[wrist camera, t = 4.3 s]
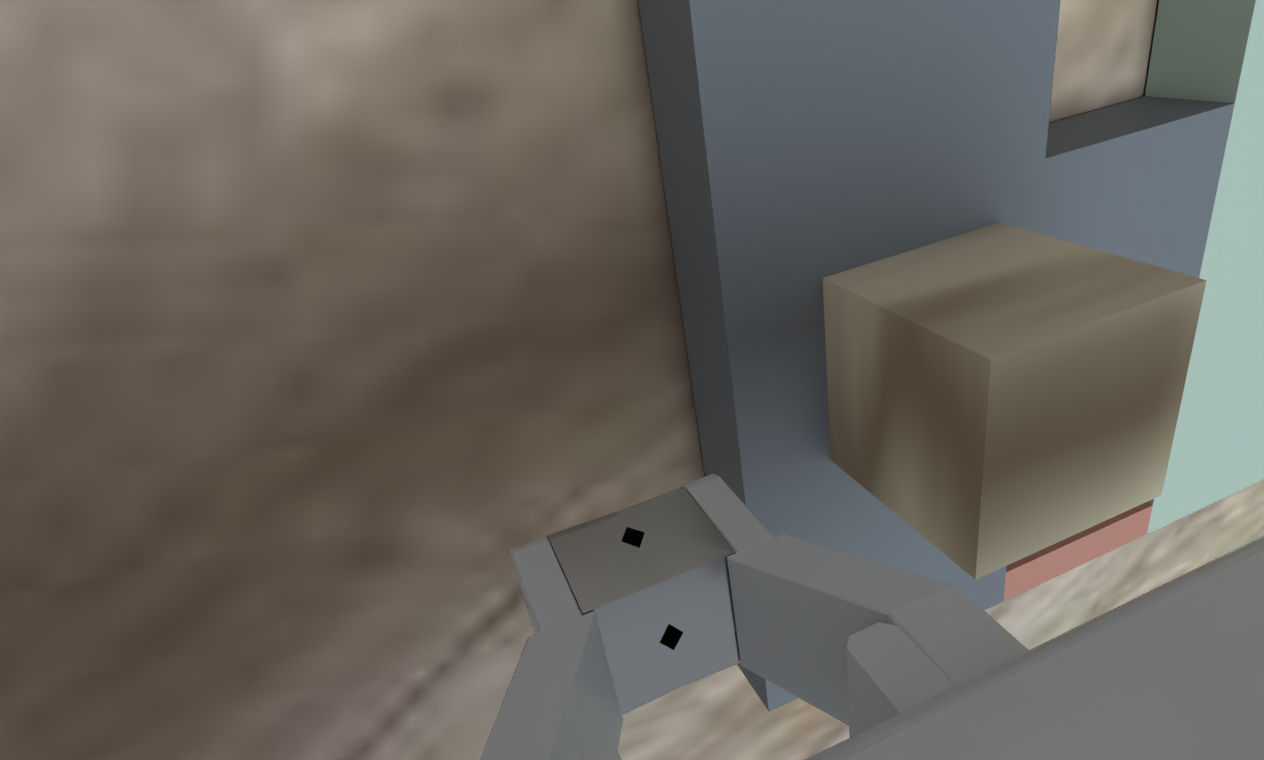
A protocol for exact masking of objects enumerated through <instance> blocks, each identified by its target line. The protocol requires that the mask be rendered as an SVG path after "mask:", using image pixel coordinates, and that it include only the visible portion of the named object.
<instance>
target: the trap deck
mask: <svg viewBox="0 0 1264 760" xmlns="http://www.w3.org/2000/svg"><path fill="white" fill-rule="evenodd" d="M638 5H639V12H640V19H641V26H642V33H643V40H644V48H645V55H646V62H647V69H648V76H649V83H650V90H651V97H652V104H653V112H654V119H655V126H656V133H657V140H658V147H659V154H660V161H661V168H662V176H663V183H664V190H665V197H666V204H667V211H668V218H669V225H670V232H671V240H672V247H673V254H674V261H675V268H676V275H677V282H678V289H679V296H680V304H681V311H682V318H683V325H684V332H685V339H686V346H687V353H688V360H689V368H690V375H691V382H692V389H693V396H694V403H695V410H696V417H697V424H698V432H699V439H700V446H701V453H702V460H703V467H704V474H705V476H708V475H710V474H715V475H718V476H720V478H721V479H722V480H723V481H724V482H725V483H726V484H727V485H728V487H729V488H730V489H731V490H732V491H733V492H734V493H735V494H736V495H737V497H738V498H739V499H740V500H741V501H742V502H743V503H744V504H745V505H746V507H747V508H748V509H749V510H750V511H751V512H752V513H753V514H754V516H755V517H756V518H757V519H758V520H759V521H760V522H761V523H762V524H763V526H764V527H765V528H766V529H767V530H768V531H769V532H770V533H771V534H772V536H773V537H774V538H776V537H778V536H781V535H783V534H785V535H788V536H792V537H795V538H798V539H802V540H805V541H808V542H812V543H815V544H818V545H822V546H825V547H828V548H832V549H835V550H839V551H842V552H845V553H849V554H852V555H855V556H859V557H862V558H865V559H869V560H872V561H875V562H879V563H882V564H885V565H889V566H892V567H895V568H899V569H902V570H905V571H909V572H912V573H916V574H919V575H922V576H926V577H929V578H932V579H936V580H939V581H942V582H946V583H949V584H952V585H956V586H957V587H958V588H959V589H960V590H961V591H963V592H964V593H965V594H966V595H967V596H968V597H969V598H970V599H972V600H973V601H974V602H975V603H976V604H977V605H978V606H979V607H981V608H982V609H983V610H986V609H988V608H990V607H992V606H995V605H997V604H999V603H1001V602H1003V601H1005V600H1007V599H1009V598H1012V597H1014V596H1016V595H1018V594H1020V593H1022V592H1024V591H1026V590H1029V589H1031V588H1033V587H1035V586H1037V585H1039V584H1041V583H1043V582H1046V581H1048V580H1050V579H1052V578H1054V577H1056V576H1058V575H1060V574H1063V573H1065V572H1067V571H1069V570H1071V569H1073V568H1075V567H1078V566H1080V565H1082V564H1084V563H1086V562H1088V561H1090V560H1092V559H1095V558H1097V557H1099V556H1101V555H1103V554H1105V553H1107V552H1109V551H1112V550H1114V549H1116V548H1118V547H1120V546H1122V545H1124V544H1126V543H1129V542H1131V541H1133V540H1135V539H1137V538H1139V537H1141V536H1144V535H1146V534H1148V533H1150V532H1152V531H1154V530H1156V529H1158V528H1161V527H1163V526H1165V525H1167V524H1169V523H1171V522H1173V521H1175V520H1178V519H1180V518H1182V517H1184V516H1186V515H1188V514H1190V513H1192V512H1195V511H1197V510H1199V509H1201V508H1203V507H1205V506H1207V505H1210V504H1212V503H1214V502H1216V501H1218V500H1220V499H1222V498H1224V497H1227V496H1229V495H1231V494H1233V493H1235V492H1237V491H1239V490H1241V489H1244V488H1246V487H1248V486H1250V485H1252V484H1254V483H1256V482H1258V481H1261V480H1263V479H1264V0H1159V5H1158V12H1157V19H1156V25H1155V32H1154V39H1153V45H1152V52H1151V59H1150V65H1149V72H1148V78H1147V85H1146V92H1145V96H1144V97H1140V98H1136V99H1133V100H1129V101H1126V102H1122V103H1118V104H1115V105H1111V106H1108V107H1104V108H1100V109H1097V110H1093V111H1090V112H1086V113H1082V114H1079V115H1075V116H1072V117H1068V118H1064V119H1061V120H1057V121H1054V122H1050V123H1049V115H1050V104H1051V94H1052V83H1053V73H1054V62H1055V52H1056V41H1057V31H1058V20H1059V10H1060V0H638ZM997 223H1003V224H1007V225H1010V226H1014V227H1018V228H1021V229H1025V230H1028V231H1032V232H1036V233H1039V234H1043V235H1046V236H1050V237H1053V238H1057V239H1061V240H1064V241H1068V242H1071V243H1075V244H1079V245H1082V246H1086V247H1089V248H1093V249H1097V250H1100V251H1104V252H1107V253H1111V254H1114V255H1118V256H1122V257H1125V258H1129V259H1132V260H1136V261H1140V262H1143V263H1147V264H1150V265H1154V266H1157V267H1161V268H1165V269H1168V270H1172V271H1175V272H1179V273H1183V274H1186V275H1190V276H1193V277H1197V278H1200V279H1204V280H1207V281H1206V286H1205V290H1204V295H1203V300H1202V305H1201V310H1200V314H1199V319H1198V324H1197V329H1196V333H1195V338H1194V343H1193V348H1192V353H1191V357H1190V362H1189V367H1188V372H1187V376H1186V381H1185V386H1184V391H1183V396H1182V400H1181V405H1180V410H1179V415H1178V420H1177V424H1176V429H1175V434H1174V439H1173V443H1172V448H1171V453H1170V458H1169V463H1168V467H1167V472H1166V477H1165V482H1164V486H1163V491H1162V495H1161V496H1159V497H1156V498H1154V499H1152V500H1150V501H1148V502H1145V503H1143V504H1141V505H1139V506H1137V507H1134V508H1132V509H1130V510H1128V511H1126V512H1123V513H1121V514H1119V515H1117V516H1115V517H1112V518H1110V519H1108V520H1106V521H1104V522H1101V523H1099V524H1097V525H1095V526H1093V527H1090V528H1088V529H1086V530H1084V531H1082V532H1080V533H1077V534H1075V535H1073V536H1071V537H1069V538H1066V539H1064V540H1062V541H1060V542H1058V543H1055V544H1053V545H1051V546H1049V547H1047V548H1044V549H1042V550H1040V551H1038V552H1036V553H1033V554H1031V555H1029V556H1027V557H1025V558H1022V559H1020V560H1018V561H1016V562H1014V563H1011V564H1009V565H1007V566H1005V567H1003V568H1001V569H998V570H996V571H994V572H992V573H990V574H987V575H985V576H983V577H981V578H979V579H976V580H975V579H974V578H973V577H971V576H970V575H969V574H968V573H967V572H965V571H964V570H963V569H962V568H960V567H959V566H958V565H957V564H956V563H954V562H953V561H952V560H951V559H950V558H948V557H947V556H946V555H945V554H944V553H942V552H941V551H940V550H939V549H937V548H936V547H935V546H934V545H933V544H931V543H930V542H929V541H928V540H927V539H925V538H924V537H923V536H922V535H921V534H919V533H918V532H917V531H916V530H915V529H913V528H912V527H911V526H910V525H908V524H907V523H906V522H905V521H904V520H902V519H901V518H900V517H899V516H898V515H896V514H895V513H894V512H893V511H892V510H890V509H889V508H888V507H887V506H886V505H884V504H883V503H882V502H881V501H879V500H878V499H877V498H876V497H875V496H873V495H872V494H871V493H870V492H869V491H867V490H866V489H865V488H864V487H863V486H861V485H860V484H859V483H858V482H856V481H855V480H854V479H853V478H852V477H850V476H849V475H848V474H847V473H846V472H844V471H843V470H842V469H841V468H840V467H838V466H837V465H836V464H835V463H834V462H832V461H831V457H830V434H829V412H828V389H827V367H826V344H825V322H824V300H823V278H824V277H828V276H831V275H834V274H837V273H840V272H844V271H847V270H850V269H853V268H856V267H860V266H863V265H866V264H869V263H872V262H876V261H879V260H882V259H885V258H888V257H891V256H895V255H898V254H901V253H904V252H907V251H911V250H914V249H917V248H920V247H923V246H927V245H930V244H933V243H936V242H939V241H943V240H946V239H949V238H952V237H955V236H958V235H962V234H965V233H968V232H971V231H974V230H978V229H981V228H984V227H987V226H990V225H994V224H997ZM737 665H738V666H739V668H740V669H741V671H742V672H743V674H744V675H745V677H746V678H747V680H748V681H749V683H750V684H751V686H752V687H753V689H754V690H755V692H756V693H757V695H758V696H759V697H760V699H761V700H762V702H763V703H764V705H765V706H766V708H767V709H768V711H771V710H773V709H775V708H777V707H779V706H782V705H784V704H786V703H788V702H790V701H792V700H794V699H797V698H799V697H797V696H795V695H793V694H791V693H790V692H788V691H786V690H784V689H782V688H781V687H779V686H777V685H775V684H773V683H772V682H770V681H768V680H766V679H764V678H763V677H761V676H759V675H757V674H755V673H754V672H752V671H750V670H748V669H746V668H745V667H743V666H741V663H738V664H737Z"/></svg>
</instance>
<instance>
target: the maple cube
mask: <svg viewBox="0 0 1264 760" xmlns="http://www.w3.org/2000/svg"><path fill="white" fill-rule="evenodd" d="M1206 281H1207V280H1204V279H1200V278H1197V277H1193V276H1190V275H1186V274H1183V273H1179V272H1175V271H1172V270H1168V269H1165V268H1161V267H1157V266H1154V265H1150V264H1147V263H1143V262H1140V261H1136V260H1132V259H1129V258H1125V257H1122V256H1118V255H1114V254H1111V253H1107V252H1104V251H1100V250H1097V249H1093V248H1089V247H1086V246H1082V245H1079V244H1075V243H1071V242H1068V241H1064V240H1061V239H1057V238H1053V237H1050V236H1046V235H1043V234H1039V233H1036V232H1032V231H1028V230H1025V229H1021V228H1018V227H1014V226H1010V225H1007V224H1003V223H997V224H994V225H990V226H987V227H984V228H981V229H978V230H974V231H971V232H968V233H965V234H962V235H958V236H955V237H952V238H949V239H946V240H943V241H939V242H936V243H933V244H930V245H927V246H923V247H920V248H917V249H914V250H911V251H907V252H904V253H901V254H898V255H895V256H891V257H888V258H885V259H882V260H879V261H876V262H872V263H869V264H866V265H863V266H860V267H856V268H853V269H850V270H847V271H844V272H840V273H837V274H834V275H831V276H828V277H824V278H823V300H824V322H825V344H826V367H827V389H828V412H829V434H830V457H831V461H832V462H834V463H835V464H836V465H837V466H838V467H840V468H841V469H842V470H843V471H844V472H846V473H847V474H848V475H849V476H850V477H852V478H853V479H854V480H855V481H856V482H858V483H859V484H860V485H861V486H863V487H864V488H865V489H866V490H867V491H869V492H870V493H871V494H872V495H873V496H875V497H876V498H877V499H878V500H879V501H881V502H882V503H883V504H884V505H886V506H887V507H888V508H889V509H890V510H892V511H893V512H894V513H895V514H896V515H898V516H899V517H900V518H901V519H902V520H904V521H905V522H906V523H907V524H908V525H910V526H911V527H912V528H913V529H915V530H916V531H917V532H918V533H919V534H921V535H922V536H923V537H924V538H925V539H927V540H928V541H929V542H930V543H931V544H933V545H934V546H935V547H936V548H937V549H939V550H940V551H941V552H942V553H944V554H945V555H946V556H947V557H948V558H950V559H951V560H952V561H953V562H954V563H956V564H957V565H958V566H959V567H960V568H962V569H963V570H964V571H965V572H967V573H968V574H969V575H970V576H971V577H973V578H974V579H975V580H976V579H979V578H981V577H983V576H985V575H987V574H990V573H992V572H994V571H996V570H998V569H1001V568H1003V567H1005V566H1007V565H1009V564H1011V563H1014V562H1016V561H1018V560H1020V559H1022V558H1025V557H1027V556H1029V555H1031V554H1033V553H1036V552H1038V551H1040V550H1042V549H1044V548H1047V547H1049V546H1051V545H1053V544H1055V543H1058V542H1060V541H1062V540H1064V539H1066V538H1069V537H1071V536H1073V535H1075V534H1077V533H1080V532H1082V531H1084V530H1086V529H1088V528H1090V527H1093V526H1095V525H1097V524H1099V523H1101V522H1104V521H1106V520H1108V519H1110V518H1112V517H1115V516H1117V515H1119V514H1121V513H1123V512H1126V511H1128V510H1130V509H1132V508H1134V507H1137V506H1139V505H1141V504H1143V503H1145V502H1148V501H1150V500H1152V499H1154V498H1156V497H1159V496H1161V495H1162V491H1163V486H1164V482H1165V477H1166V472H1167V467H1168V463H1169V458H1170V453H1171V448H1172V443H1173V439H1174V434H1175V429H1176V424H1177V420H1178V415H1179V410H1180V405H1181V400H1182V396H1183V391H1184V386H1185V381H1186V376H1187V372H1188V367H1189V362H1190V357H1191V353H1192V348H1193V343H1194V338H1195V333H1196V329H1197V324H1198V319H1199V314H1200V310H1201V305H1202V300H1203V295H1204V290H1205V286H1206Z"/></svg>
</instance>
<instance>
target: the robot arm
mask: <svg viewBox="0 0 1264 760" xmlns="http://www.w3.org/2000/svg"><path fill="white" fill-rule="evenodd" d="M510 554H511V558H512V562H513V565H514V568H515V571H516V574H517V578H518V581H519V584H520V587H521V590H522V594H523V597H524V600H525V603H526V606H527V610H528V613H529V616H530V619H531V622H532V625H533V629H534V632H535V635H533V636H531V637H529V638H528V639H527V641H526V644H525V647H524V649H523V652H522V654H521V657H520V659H519V662H518V664H517V667H516V669H515V672H514V675H513V677H512V680H511V682H510V685H509V687H508V690H507V692H506V695H505V698H504V700H503V703H502V705H501V708H500V710H499V713H498V715H497V718H496V721H495V723H494V726H493V728H492V731H491V733H490V736H489V738H488V741H487V743H486V746H485V749H484V751H483V754H482V756H481V759H480V760H621V757H620V755H619V753H618V745H619V739H620V733H621V727H622V721H623V718H622V715H623V714H625V713H627V712H629V711H631V710H634V709H636V708H638V707H640V706H642V705H644V704H646V703H648V702H650V701H652V700H655V699H657V698H659V697H661V696H663V695H665V694H667V693H669V692H671V691H673V690H676V689H678V688H680V687H682V686H685V685H687V684H689V683H692V682H694V681H697V680H699V679H702V678H704V677H707V676H709V675H711V674H714V673H716V672H719V671H721V670H724V669H726V668H728V667H731V666H733V665H736V664H738V663H741V666H743V667H745V668H746V669H748V670H750V671H752V672H754V673H755V674H757V675H759V676H761V677H763V678H764V679H766V680H768V681H770V682H772V683H773V684H775V685H777V686H779V687H781V688H782V689H784V690H786V691H788V692H790V693H791V694H793V695H795V696H797V697H799V698H800V699H802V700H804V701H806V702H808V703H809V704H811V705H813V706H815V707H817V708H818V709H820V710H822V711H824V712H826V713H827V714H829V715H831V716H833V717H835V718H836V719H838V720H840V721H842V722H844V723H845V724H847V725H849V734H850V738H849V739H847V740H845V741H842V742H840V743H838V744H836V745H834V746H832V747H830V748H828V749H826V750H824V751H822V752H820V753H818V754H816V755H814V756H812V757H810V758H808V759H806V760H1264V536H1262V537H1260V538H1258V539H1256V540H1254V541H1252V542H1250V543H1248V544H1246V545H1244V546H1242V547H1240V548H1237V549H1235V550H1233V551H1231V552H1229V553H1227V554H1225V555H1223V556H1221V557H1219V558H1217V559H1215V560H1213V561H1211V562H1209V563H1207V564H1205V565H1203V566H1201V567H1199V568H1197V569H1194V570H1192V571H1190V572H1188V573H1186V574H1184V575H1182V576H1180V577H1178V578H1176V579H1174V580H1172V581H1170V582H1168V583H1166V584H1164V585H1162V586H1160V587H1158V588H1156V589H1154V590H1151V591H1149V592H1147V593H1145V594H1143V595H1141V596H1139V597H1137V598H1135V599H1133V600H1131V601H1129V602H1127V603H1125V604H1123V605H1121V606H1119V607H1117V608H1115V609H1113V610H1111V611H1108V612H1106V613H1104V614H1102V615H1100V616H1098V617H1096V618H1094V619H1092V620H1090V621H1088V622H1086V623H1084V624H1082V625H1080V626H1078V627H1076V628H1074V629H1072V630H1070V631H1068V632H1066V633H1063V634H1061V635H1059V636H1057V637H1055V638H1053V639H1051V640H1049V641H1047V642H1045V643H1043V644H1041V645H1039V646H1037V647H1035V648H1033V649H1031V650H1028V649H1027V648H1026V647H1024V646H1023V645H1022V644H1021V643H1020V642H1019V641H1018V640H1017V639H1015V638H1014V637H1013V636H1012V635H1011V634H1010V633H1009V632H1008V631H1006V630H1005V629H1004V628H1003V627H1002V626H1001V625H1000V624H999V623H997V622H996V621H995V620H994V619H993V618H992V617H991V616H990V615H988V614H987V613H986V612H985V611H984V610H983V609H982V608H981V607H979V606H978V605H977V604H976V603H975V602H974V601H973V600H972V599H970V598H969V597H968V596H967V595H966V594H965V593H964V592H963V591H961V590H960V589H959V588H958V587H957V586H956V585H952V584H949V583H946V582H942V581H939V580H936V579H932V578H929V577H926V576H922V575H919V574H916V573H912V572H909V571H905V570H902V569H899V568H895V567H892V566H889V565H885V564H882V563H879V562H875V561H872V560H869V559H865V558H862V557H859V556H855V555H852V554H849V553H845V552H842V551H839V550H835V549H832V548H828V547H825V546H822V545H818V544H815V543H812V542H808V541H805V540H802V539H798V538H795V537H792V536H788V535H785V534H783V535H781V536H778V537H776V538H774V537H773V536H772V534H771V533H770V532H769V531H768V530H767V529H766V528H765V527H764V526H763V524H762V523H761V522H760V521H759V520H758V519H757V518H756V517H755V516H754V514H753V513H752V512H751V511H750V510H749V509H748V508H747V507H746V505H745V504H744V503H743V502H742V501H741V500H740V499H739V498H738V497H737V495H736V494H735V493H734V492H733V491H732V490H731V489H730V488H729V487H728V485H727V484H726V483H725V482H724V481H723V480H722V479H721V478H720V476H718V475H715V474H710V475H708V476H705V477H703V478H700V479H698V480H695V481H693V482H690V483H688V484H685V485H683V486H681V488H678V489H676V490H673V491H670V492H668V493H665V494H662V495H660V496H657V497H654V498H652V499H649V500H647V501H644V502H641V503H639V504H636V505H633V506H631V507H628V508H625V509H623V510H620V511H618V512H614V513H611V514H608V515H605V516H602V517H599V518H596V519H594V520H591V521H588V522H585V523H582V524H579V525H576V526H573V527H571V528H568V529H565V530H562V531H559V532H556V533H553V534H550V535H548V536H547V539H546V538H545V537H543V538H540V539H537V540H535V541H532V542H529V543H526V544H523V545H521V546H518V547H515V548H512V549H510Z"/></svg>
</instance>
